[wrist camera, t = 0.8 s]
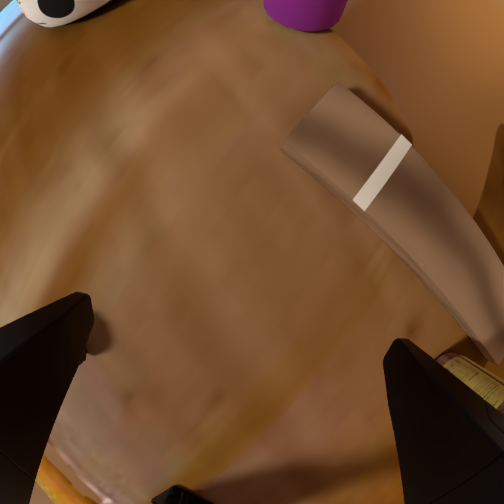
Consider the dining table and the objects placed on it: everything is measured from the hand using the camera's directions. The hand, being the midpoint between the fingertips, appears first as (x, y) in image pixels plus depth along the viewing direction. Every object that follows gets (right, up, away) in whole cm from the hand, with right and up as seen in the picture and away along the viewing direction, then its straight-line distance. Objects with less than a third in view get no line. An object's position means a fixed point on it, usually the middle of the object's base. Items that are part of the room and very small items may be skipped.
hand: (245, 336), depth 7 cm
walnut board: (+17, +3, +15) cm, 23 cm away
